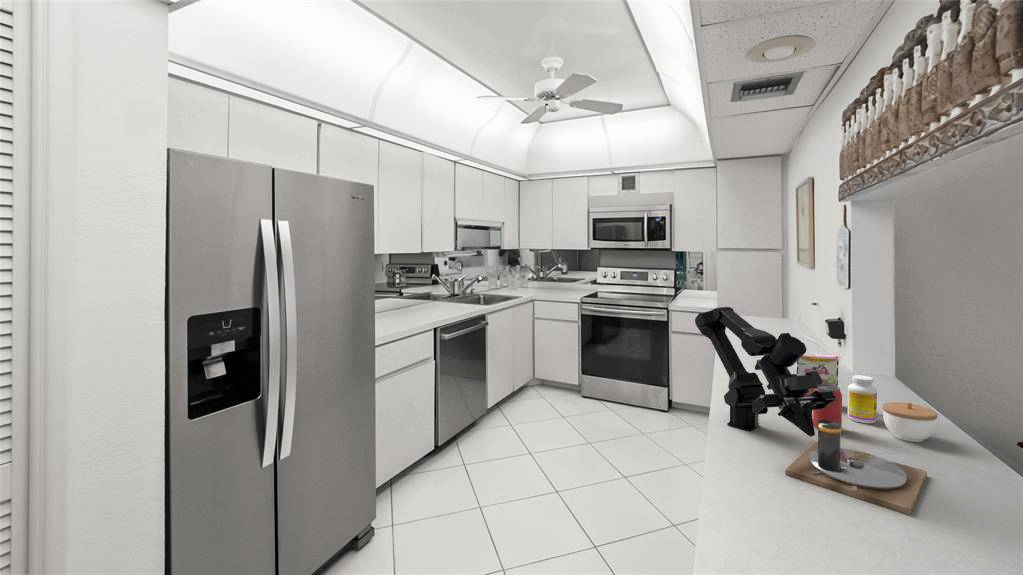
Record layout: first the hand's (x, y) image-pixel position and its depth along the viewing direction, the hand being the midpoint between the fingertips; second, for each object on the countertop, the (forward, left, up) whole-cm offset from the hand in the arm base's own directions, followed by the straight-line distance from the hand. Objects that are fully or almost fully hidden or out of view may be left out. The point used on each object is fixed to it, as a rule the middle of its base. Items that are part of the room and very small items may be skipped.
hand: (812, 435), depth 100 cm
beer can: (-4, +28, -8) cm, 30 cm away
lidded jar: (+12, +36, -8) cm, 39 cm away
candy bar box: (-12, +48, -8) cm, 50 cm away
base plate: (+7, +3, -8) cm, 11 cm away
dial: (+7, +3, -6) cm, 10 cm away
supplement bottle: (+1, +42, -8) cm, 43 cm away
